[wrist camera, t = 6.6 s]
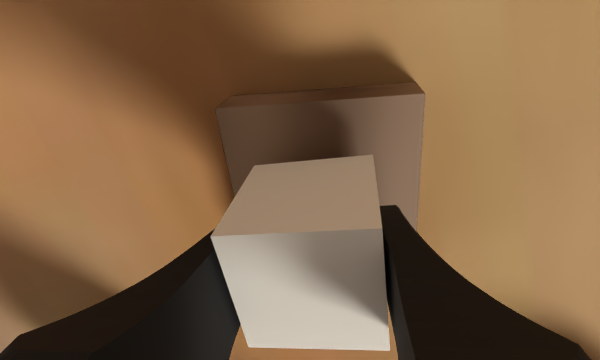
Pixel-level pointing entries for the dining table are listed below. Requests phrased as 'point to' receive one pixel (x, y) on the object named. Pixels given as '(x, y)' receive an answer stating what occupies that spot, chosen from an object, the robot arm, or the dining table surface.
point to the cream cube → (307, 256)
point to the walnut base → (331, 134)
